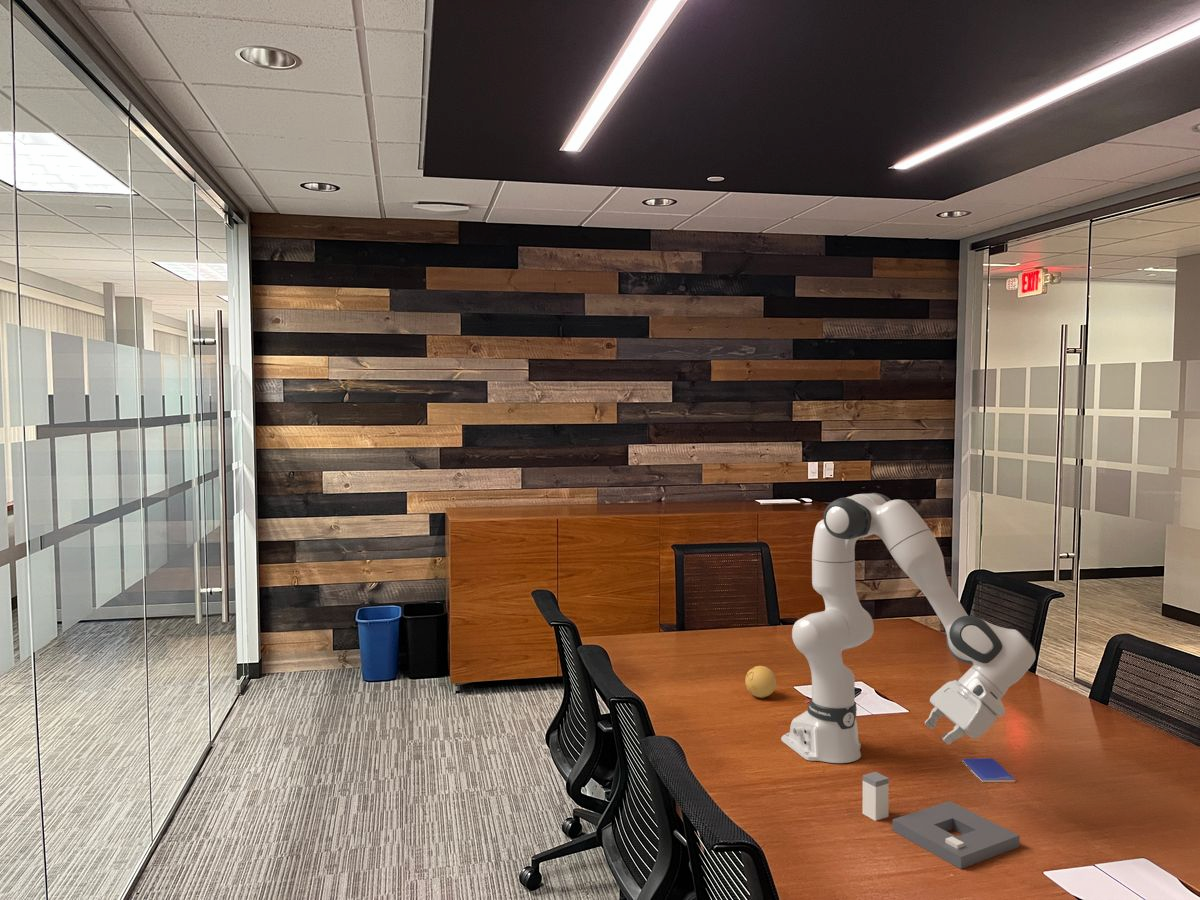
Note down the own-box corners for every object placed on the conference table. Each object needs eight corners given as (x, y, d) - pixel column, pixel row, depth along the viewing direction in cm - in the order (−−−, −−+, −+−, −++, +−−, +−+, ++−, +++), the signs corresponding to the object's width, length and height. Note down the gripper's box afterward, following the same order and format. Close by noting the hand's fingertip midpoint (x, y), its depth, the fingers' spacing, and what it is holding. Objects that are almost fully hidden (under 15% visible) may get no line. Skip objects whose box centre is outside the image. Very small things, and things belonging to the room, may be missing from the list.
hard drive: (1015, 778, 211) (993, 758, 224) (982, 778, 211) (962, 758, 224) (1015, 784, 211) (993, 763, 224) (982, 785, 211) (962, 764, 224)
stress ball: (779, 699, 275) (769, 672, 282) (781, 683, 268) (771, 656, 276) (749, 706, 274) (740, 679, 282) (751, 690, 268) (741, 662, 275)
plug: (862, 813, 196) (862, 775, 196) (875, 809, 198) (875, 771, 198) (875, 820, 193) (875, 782, 192) (888, 816, 195) (888, 778, 194)
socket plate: (892, 830, 188) (892, 815, 188) (949, 811, 197) (949, 797, 197) (960, 869, 172) (960, 853, 172) (1019, 846, 181) (1019, 831, 181)
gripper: (949, 667, 206) (909, 709, 206) (989, 695, 185) (944, 741, 185) (967, 685, 206) (927, 726, 206) (1009, 715, 185) (965, 760, 186)
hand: (935, 733), depth 196 cm, fingers open, 8 cm apart
